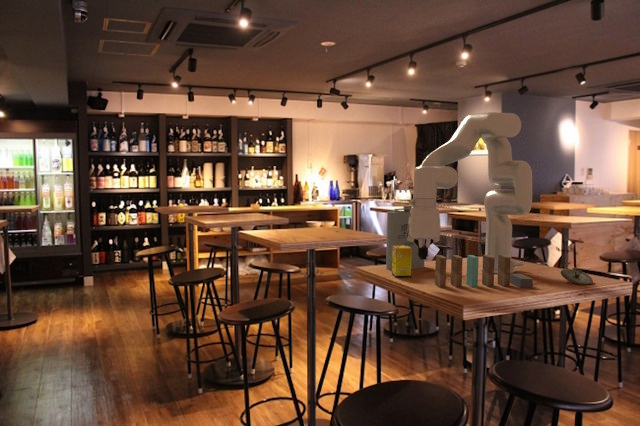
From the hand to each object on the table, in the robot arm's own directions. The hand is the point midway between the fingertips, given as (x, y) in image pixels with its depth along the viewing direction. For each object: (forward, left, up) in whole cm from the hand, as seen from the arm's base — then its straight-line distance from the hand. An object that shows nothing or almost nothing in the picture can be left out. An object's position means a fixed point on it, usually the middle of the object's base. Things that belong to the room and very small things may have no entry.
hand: (422, 258), depth 175 cm
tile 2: (-12, 0, -9) cm, 15 cm away
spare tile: (-17, 0, -9) cm, 20 cm away
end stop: (-34, 0, -9) cm, 36 cm away
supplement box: (+3, -17, -10) cm, 20 cm away
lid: (-56, -3, -10) cm, 57 cm away
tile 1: (-6, 0, -9) cm, 11 cm away
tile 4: (-23, 0, -9) cm, 25 cm away
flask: (-3, -33, -9) cm, 35 cm away
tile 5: (-28, 0, -9) cm, 30 cm away
